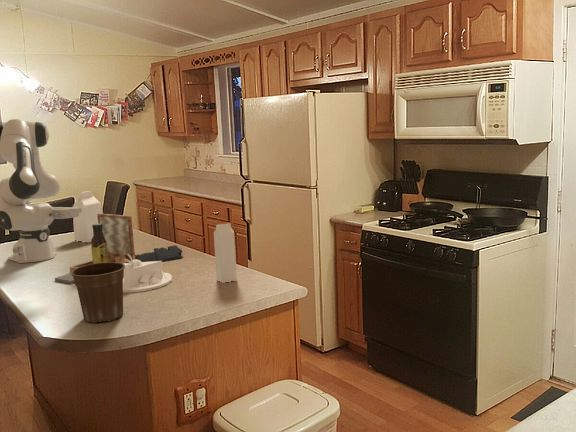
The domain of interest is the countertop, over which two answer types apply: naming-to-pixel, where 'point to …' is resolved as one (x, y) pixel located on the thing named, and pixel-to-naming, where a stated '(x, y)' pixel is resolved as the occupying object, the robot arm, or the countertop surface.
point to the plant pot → (100, 290)
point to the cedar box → (115, 237)
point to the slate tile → (65, 279)
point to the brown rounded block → (121, 260)
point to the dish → (144, 276)
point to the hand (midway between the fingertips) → (72, 210)
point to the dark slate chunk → (161, 254)
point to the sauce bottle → (99, 245)
